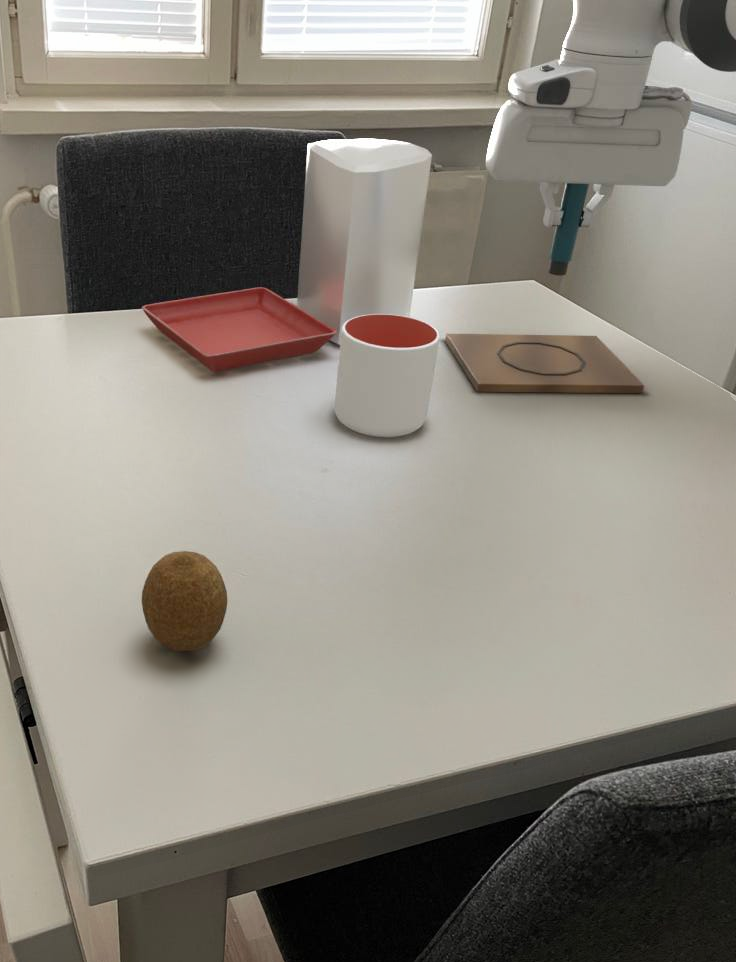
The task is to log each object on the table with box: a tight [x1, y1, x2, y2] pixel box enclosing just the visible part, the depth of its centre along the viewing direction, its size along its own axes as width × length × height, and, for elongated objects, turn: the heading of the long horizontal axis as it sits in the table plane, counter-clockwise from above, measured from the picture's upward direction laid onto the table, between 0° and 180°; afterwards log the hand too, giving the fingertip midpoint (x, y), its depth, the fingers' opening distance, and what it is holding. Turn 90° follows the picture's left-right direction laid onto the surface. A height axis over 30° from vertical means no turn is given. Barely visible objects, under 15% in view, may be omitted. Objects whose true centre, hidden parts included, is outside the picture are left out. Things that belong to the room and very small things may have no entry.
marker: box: [547, 183, 590, 276], centre depth 108 cm, size 2×2×13 cm
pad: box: [444, 333, 645, 394], centre depth 121 cm, size 20×16×1 cm
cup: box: [333, 314, 441, 438], centre depth 104 cm, size 10×10×10 cm
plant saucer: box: [141, 286, 336, 373], centre depth 122 cm, size 18×18×3 cm
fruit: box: [141, 550, 229, 652], centre depth 72 cm, size 6×6×8 cm
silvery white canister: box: [296, 138, 433, 345], centre depth 124 cm, size 15×14×22 cm
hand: (567, 225), depth 109 cm, fingers closed on marker, 2 cm apart
